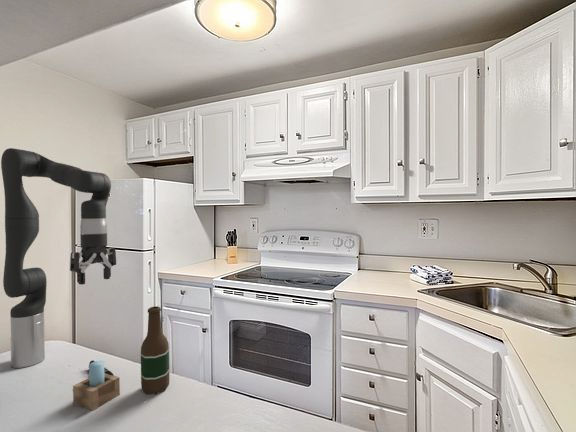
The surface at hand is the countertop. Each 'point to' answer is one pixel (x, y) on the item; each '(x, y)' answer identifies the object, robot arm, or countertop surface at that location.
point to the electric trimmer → (104, 369)
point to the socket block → (96, 392)
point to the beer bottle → (154, 356)
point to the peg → (96, 373)
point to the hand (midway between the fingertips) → (94, 281)
